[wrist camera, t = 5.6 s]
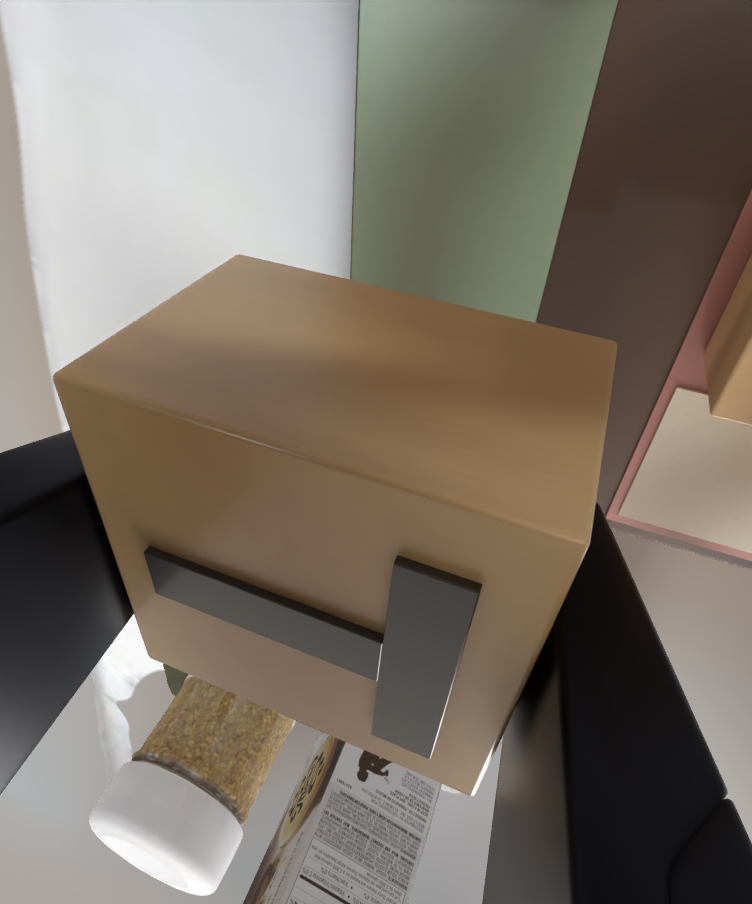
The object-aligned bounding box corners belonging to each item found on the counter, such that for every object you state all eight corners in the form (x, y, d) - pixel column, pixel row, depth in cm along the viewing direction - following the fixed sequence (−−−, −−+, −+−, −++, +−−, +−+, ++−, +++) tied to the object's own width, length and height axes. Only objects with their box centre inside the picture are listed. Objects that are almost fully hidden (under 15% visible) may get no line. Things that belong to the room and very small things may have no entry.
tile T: (620, 339, 6) (590, 555, 4) (521, 600, 9) (472, 809, 7) (237, 251, 7) (37, 379, 5) (260, 510, 10) (142, 665, 8)
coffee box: (395, 783, 41) (287, 1109, 29) (315, 735, 41) (175, 1042, 29) (457, 746, 35) (350, 1144, 23) (363, 689, 35) (208, 1057, 23)
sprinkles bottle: (370, 595, 29) (217, 916, 19) (286, 564, 30) (100, 853, 20) (379, 533, 26) (203, 876, 16) (285, 500, 27) (65, 804, 17)
